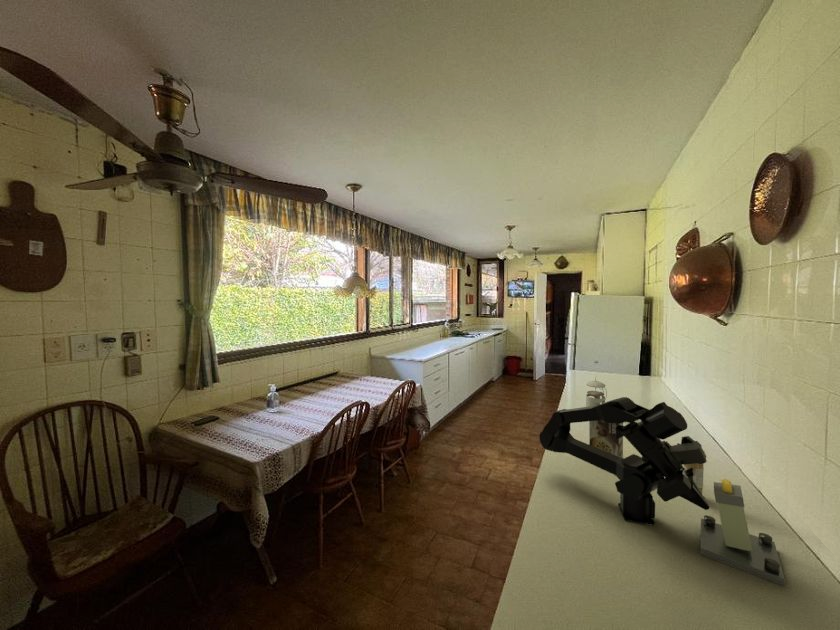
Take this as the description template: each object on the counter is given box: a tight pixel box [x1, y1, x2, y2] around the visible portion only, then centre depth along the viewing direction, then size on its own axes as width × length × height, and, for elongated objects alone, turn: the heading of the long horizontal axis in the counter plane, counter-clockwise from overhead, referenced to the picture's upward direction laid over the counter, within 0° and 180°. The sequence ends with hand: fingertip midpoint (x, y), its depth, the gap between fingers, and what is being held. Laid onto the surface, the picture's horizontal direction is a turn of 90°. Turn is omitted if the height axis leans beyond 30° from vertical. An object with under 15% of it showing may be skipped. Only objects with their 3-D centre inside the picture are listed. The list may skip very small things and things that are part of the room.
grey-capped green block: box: [713, 478, 752, 552], centre depth 70 cm, size 4×5×12 cm
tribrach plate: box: [700, 514, 785, 587], centre depth 70 cm, size 12×12×3 cm
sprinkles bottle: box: [682, 447, 706, 494], centre depth 90 cm, size 5×5×14 cm
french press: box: [585, 360, 608, 407], centre depth 153 cm, size 10×12×25 cm
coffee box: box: [588, 421, 624, 458], centre depth 111 cm, size 9×6×16 cm
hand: (707, 508), depth 73 cm, fingers closed
